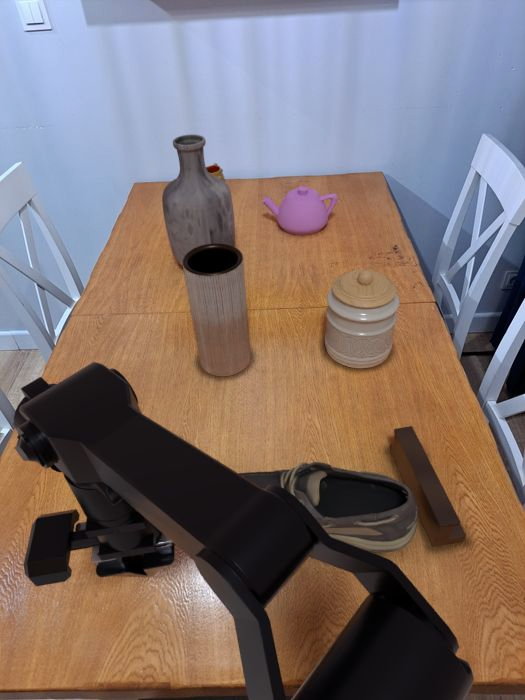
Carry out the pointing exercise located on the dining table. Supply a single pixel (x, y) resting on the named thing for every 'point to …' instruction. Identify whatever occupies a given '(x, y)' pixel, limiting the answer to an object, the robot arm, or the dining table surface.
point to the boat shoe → (350, 503)
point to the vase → (196, 202)
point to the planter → (218, 307)
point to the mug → (216, 171)
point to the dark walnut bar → (426, 489)
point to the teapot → (302, 210)
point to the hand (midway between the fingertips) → (150, 572)
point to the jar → (361, 318)
